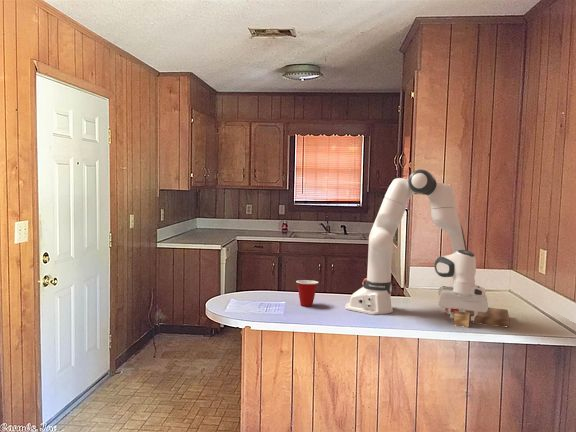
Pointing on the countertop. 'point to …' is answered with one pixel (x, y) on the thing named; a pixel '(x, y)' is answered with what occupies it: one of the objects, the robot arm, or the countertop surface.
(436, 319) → the countertop surface
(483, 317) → the walnut block
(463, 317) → the oak block
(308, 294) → the plastic cup
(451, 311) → the pill bottle
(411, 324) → the countertop surface
